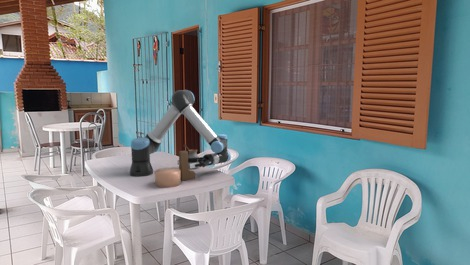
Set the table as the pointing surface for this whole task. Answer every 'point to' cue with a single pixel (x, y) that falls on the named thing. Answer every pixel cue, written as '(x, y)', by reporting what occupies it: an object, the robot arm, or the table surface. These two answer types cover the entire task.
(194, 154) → the coffee pot
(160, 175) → the peach disc
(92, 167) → the table surface
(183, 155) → the wooden block
